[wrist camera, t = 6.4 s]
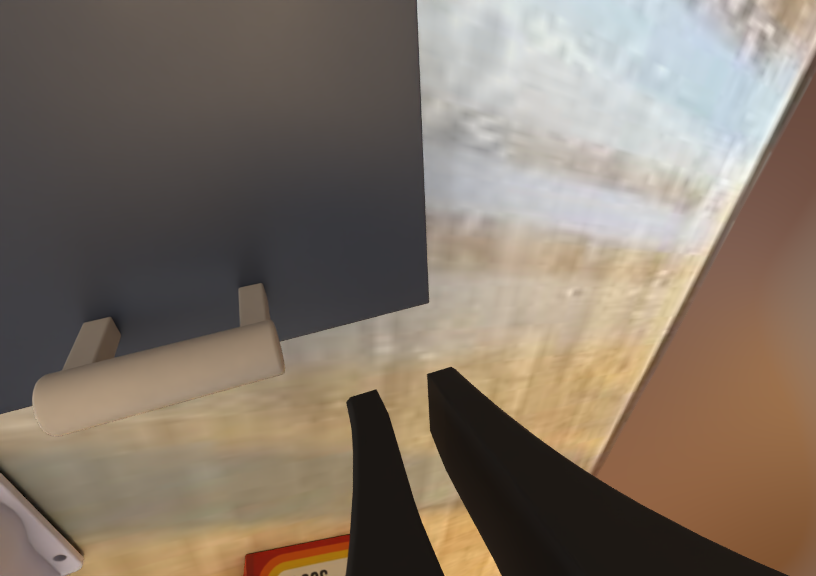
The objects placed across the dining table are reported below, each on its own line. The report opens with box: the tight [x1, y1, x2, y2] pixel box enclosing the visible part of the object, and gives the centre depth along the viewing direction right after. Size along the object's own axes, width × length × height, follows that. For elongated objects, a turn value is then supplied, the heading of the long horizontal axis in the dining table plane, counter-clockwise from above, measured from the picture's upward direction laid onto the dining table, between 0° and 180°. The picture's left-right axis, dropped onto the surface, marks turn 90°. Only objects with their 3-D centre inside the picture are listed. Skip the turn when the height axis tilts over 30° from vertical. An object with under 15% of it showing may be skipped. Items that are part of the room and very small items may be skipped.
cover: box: [0, 0, 429, 436], centre depth 9 cm, size 11×15×4 cm
